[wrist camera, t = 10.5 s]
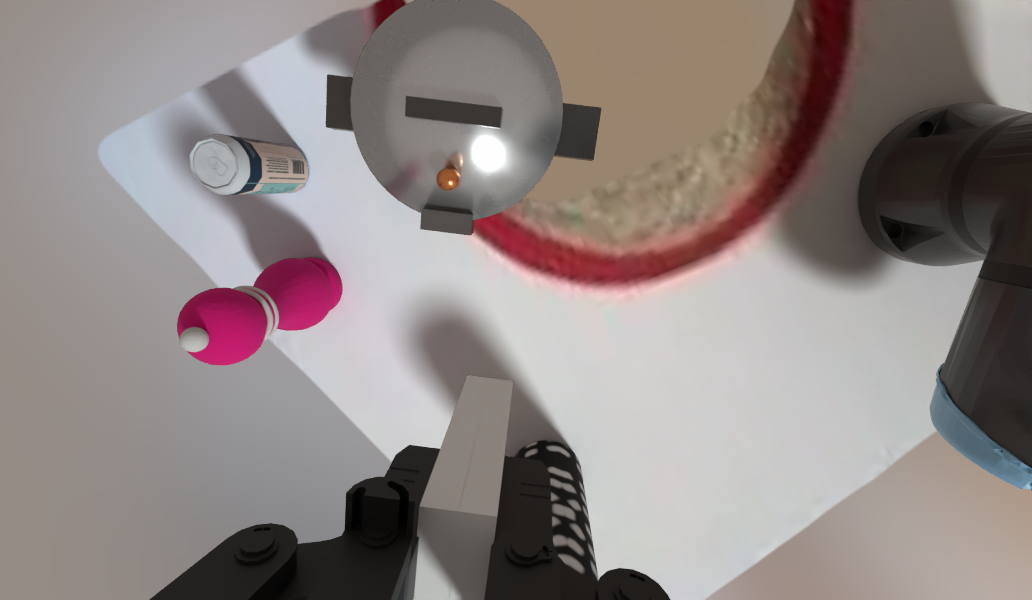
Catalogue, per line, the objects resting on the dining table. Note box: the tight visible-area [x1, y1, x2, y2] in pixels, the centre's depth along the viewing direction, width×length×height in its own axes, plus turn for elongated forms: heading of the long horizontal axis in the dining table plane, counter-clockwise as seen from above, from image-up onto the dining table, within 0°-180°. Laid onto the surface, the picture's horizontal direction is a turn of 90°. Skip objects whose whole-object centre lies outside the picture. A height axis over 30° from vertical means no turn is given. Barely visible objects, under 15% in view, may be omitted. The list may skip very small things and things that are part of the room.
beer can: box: [189, 134, 309, 195], centre depth 44 cm, size 5×5×12 cm
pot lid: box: [350, 0, 563, 235], centre depth 36 cm, size 16×17×3 cm
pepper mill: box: [177, 258, 342, 365], centre depth 43 cm, size 7×7×20 cm
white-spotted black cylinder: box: [515, 440, 599, 581], centre depth 47 cm, size 8×8×20 cm
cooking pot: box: [326, 75, 601, 161], centre depth 43 cm, size 22×15×11 cm
